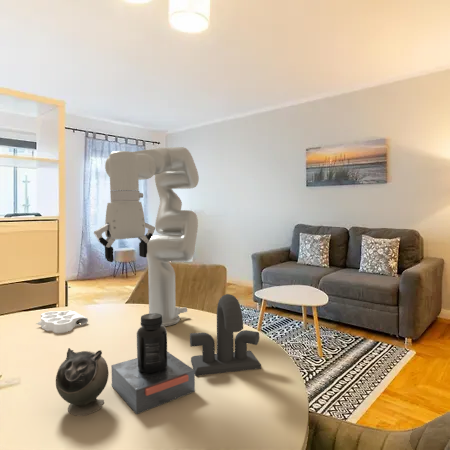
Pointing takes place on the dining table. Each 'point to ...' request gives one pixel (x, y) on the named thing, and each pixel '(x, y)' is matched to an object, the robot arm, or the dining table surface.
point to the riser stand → (152, 383)
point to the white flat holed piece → (61, 321)
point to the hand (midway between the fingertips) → (127, 258)
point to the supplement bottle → (151, 344)
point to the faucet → (225, 342)
